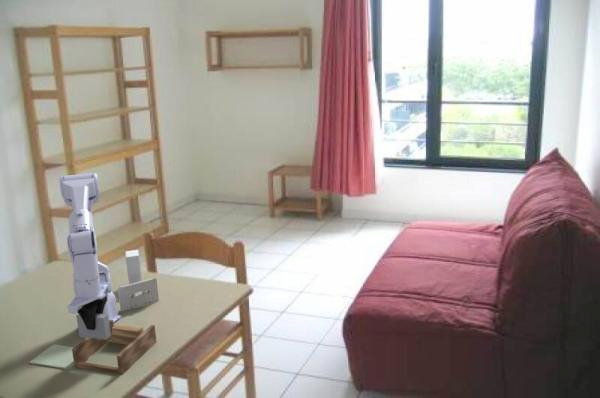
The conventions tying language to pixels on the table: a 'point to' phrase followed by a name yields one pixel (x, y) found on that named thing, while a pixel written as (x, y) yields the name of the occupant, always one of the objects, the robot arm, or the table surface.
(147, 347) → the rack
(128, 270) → the skincare box
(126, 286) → the cassette
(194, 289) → the table surface
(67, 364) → the mat
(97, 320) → the grey rectangular box
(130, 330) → the offcut
